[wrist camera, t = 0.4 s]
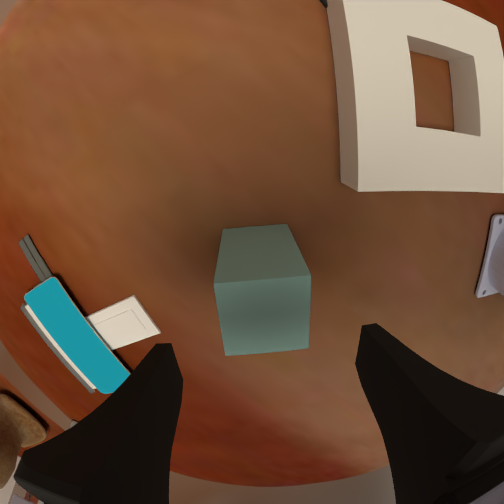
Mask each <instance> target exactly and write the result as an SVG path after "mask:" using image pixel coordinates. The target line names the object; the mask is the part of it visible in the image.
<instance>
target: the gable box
mask: <svg viewBox="0 0 504 504" xmlns="http://www.w3.org/2000/svg"><path fill="white" fill-rule="evenodd" d="M20 459H21V457H19V456H17V462H16V467H15V470H14V472H13V473H12V475H11V477H10V479H9V480H8V482H7V483H6V485H5V486H4V487H3V488H2V489H0V504H8V503H9V500H10V497H11V494H12V491H13V489H14V486H15V483H16V481H15V480H14V477H13V476H14V473H15V471H16V469H17V466H18V464H19V461H20Z"/></svg>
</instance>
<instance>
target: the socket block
mask: <svg viewBox="0 0 504 504" xmlns="http://www.w3.org/2000/svg"><path fill="white" fill-rule="evenodd" d="M327 3H328V7H327V15H328V21H329V28H330V35H331V43H332V51H333V60H334V69H335V79H336V91H337V104H338V119H339V140H340V177H341V183H343V184H345V185H347V186H349V187H351V188H352V189H354V190H356V191H358V192H367V191H464V192H491V193H504V58H503V52H502V47H501V42H500V38H499V34H498V29H497V26H495V25H493V24H492V23H490V22H488V21H486V20H484V19H482V18H480V17H478V16H476V15H474V14H472V13H470V12H468V11H466V10H463V9H461V8H459V7H457V6H454V5H452V4H449V3H447V2H445V1H442V0H327ZM409 51H412V52H416V53H420V54H424V55H428V56H432V57H435V58H439V59H442V60H446V61H448V62H449V69H450V78H451V87H452V99H453V116H454V132H451V131H445V130H438V129H431V128H423V127H416V115H415V99H414V86H413V76H412V68H411V60H410V53H409Z"/></svg>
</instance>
